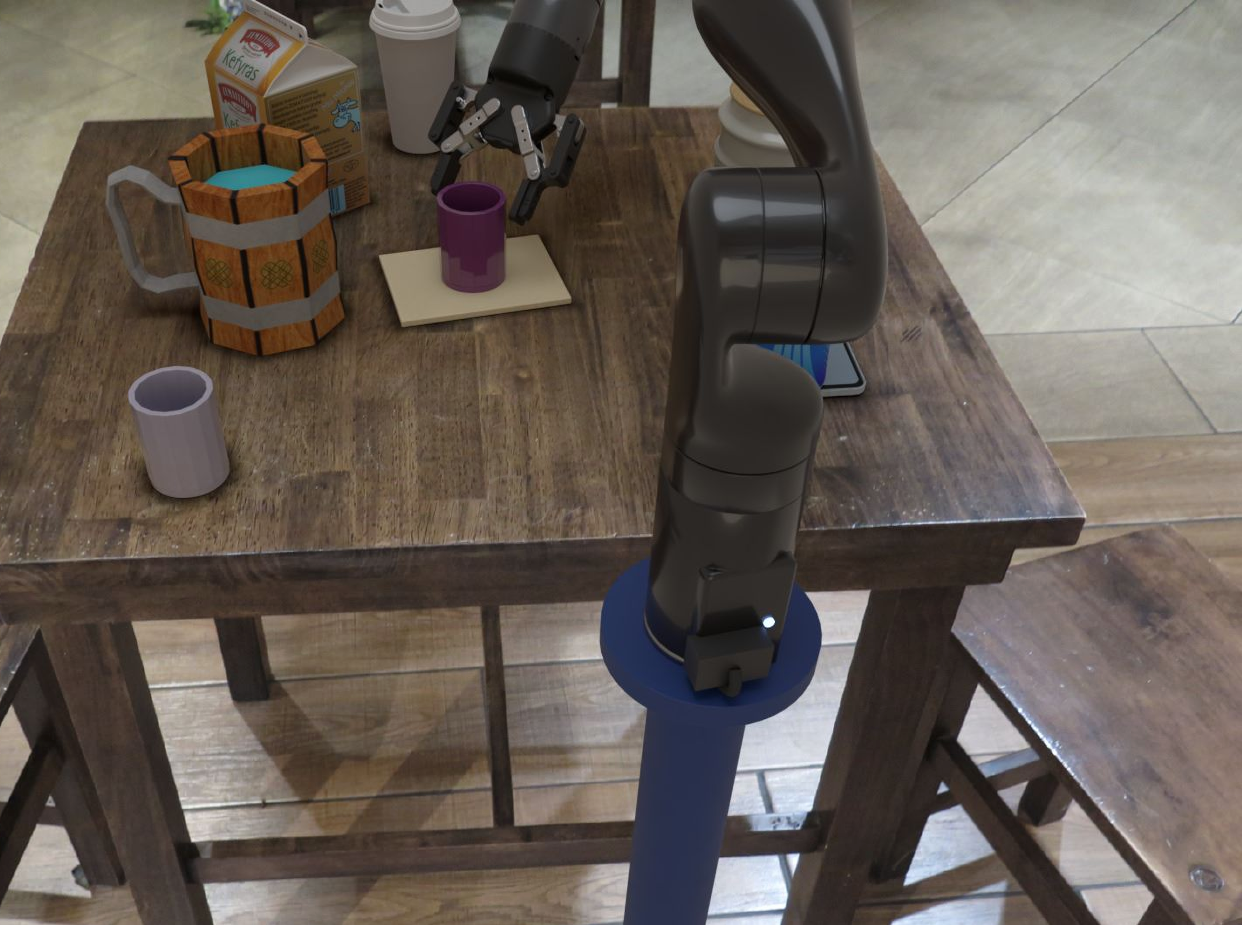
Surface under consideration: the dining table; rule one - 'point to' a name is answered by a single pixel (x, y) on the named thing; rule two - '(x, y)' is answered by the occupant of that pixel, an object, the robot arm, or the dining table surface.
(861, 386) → the smartphone
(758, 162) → the jar
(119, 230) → the mug
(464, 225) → the plum cup
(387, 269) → the placemat
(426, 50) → the coffee cup
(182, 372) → the grey cup
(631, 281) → the dining table surface
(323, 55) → the milk carton
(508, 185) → the dining table surface
